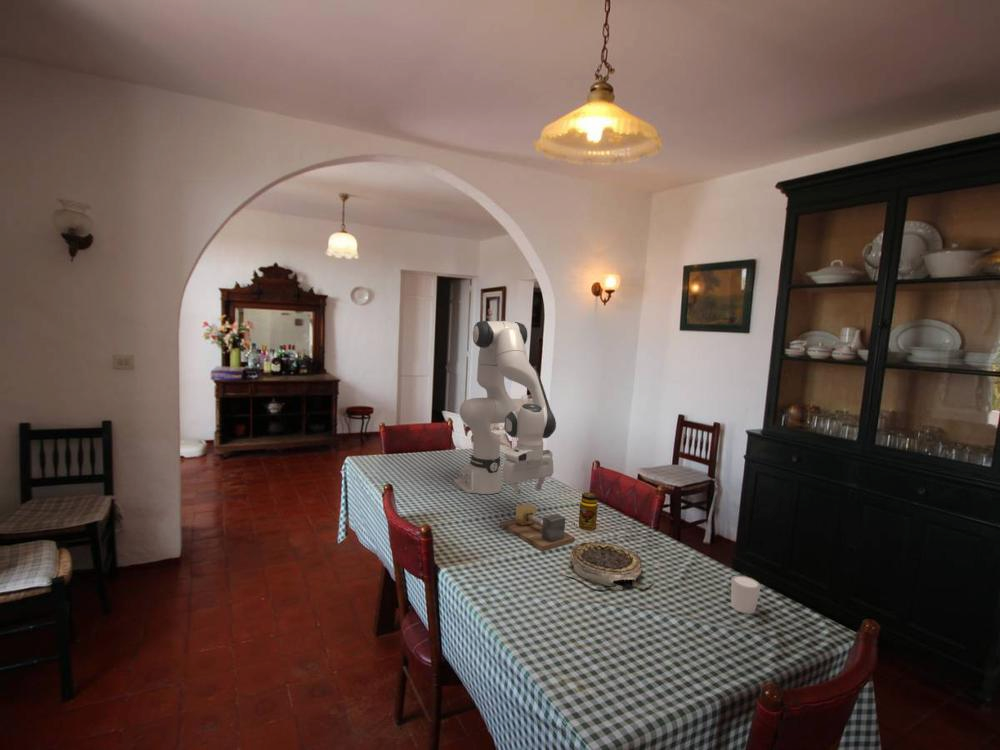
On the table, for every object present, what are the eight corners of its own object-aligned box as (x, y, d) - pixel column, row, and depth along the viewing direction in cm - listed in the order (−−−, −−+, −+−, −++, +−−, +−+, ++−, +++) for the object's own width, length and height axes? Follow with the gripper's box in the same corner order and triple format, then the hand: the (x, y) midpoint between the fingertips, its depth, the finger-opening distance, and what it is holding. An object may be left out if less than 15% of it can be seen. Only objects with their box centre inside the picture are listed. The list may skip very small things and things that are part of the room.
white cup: (732, 597, 135) (735, 572, 134) (760, 607, 131) (763, 581, 130) (725, 607, 130) (728, 581, 129) (754, 618, 125) (757, 591, 125)
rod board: (500, 526, 174) (501, 502, 173) (530, 518, 182) (532, 496, 181) (542, 551, 156) (544, 524, 155) (574, 541, 165) (576, 516, 164)
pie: (539, 563, 149) (540, 546, 149) (598, 542, 167) (599, 528, 166) (616, 606, 128) (617, 587, 128) (674, 578, 146) (676, 561, 145)
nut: (515, 521, 174) (516, 506, 173) (527, 518, 177) (528, 503, 176) (522, 525, 170) (523, 509, 170) (535, 522, 174) (536, 507, 173)
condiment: (582, 532, 173) (584, 498, 172) (571, 522, 181) (574, 490, 180) (601, 530, 175) (604, 497, 174) (590, 521, 183) (592, 489, 182)
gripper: (546, 447, 180) (544, 485, 181) (500, 453, 168) (498, 493, 169) (558, 451, 175) (556, 490, 176) (512, 457, 163) (510, 499, 164)
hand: (527, 492), depth 172 cm, fingers open, 8 cm apart
